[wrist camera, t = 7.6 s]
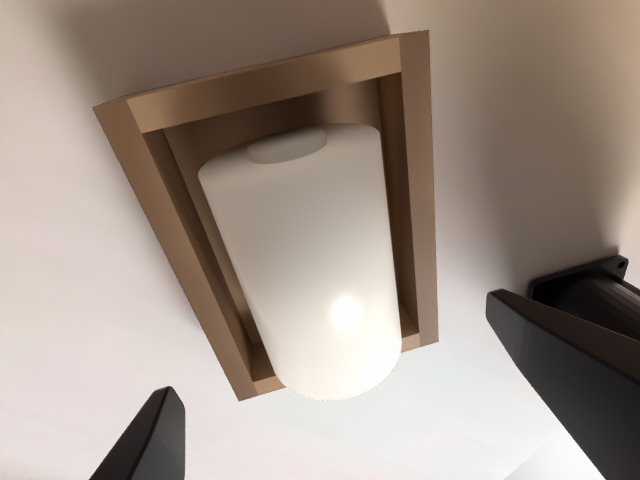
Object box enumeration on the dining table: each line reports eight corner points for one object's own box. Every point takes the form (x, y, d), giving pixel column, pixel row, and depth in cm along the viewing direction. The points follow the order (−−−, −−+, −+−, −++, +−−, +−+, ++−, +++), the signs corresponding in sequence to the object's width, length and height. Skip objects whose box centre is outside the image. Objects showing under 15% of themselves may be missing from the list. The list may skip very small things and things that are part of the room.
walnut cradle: (391, 34, 14) (429, 30, 11) (412, 303, 21) (438, 341, 18) (124, 95, 13) (91, 107, 10) (239, 352, 20) (238, 401, 17)
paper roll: (204, 142, 14) (179, 196, 8) (350, 106, 14) (411, 138, 9) (268, 320, 18) (278, 424, 13) (376, 289, 19) (426, 379, 14)
